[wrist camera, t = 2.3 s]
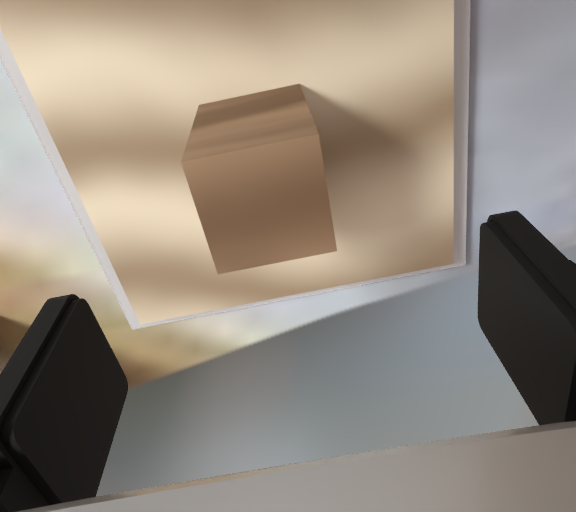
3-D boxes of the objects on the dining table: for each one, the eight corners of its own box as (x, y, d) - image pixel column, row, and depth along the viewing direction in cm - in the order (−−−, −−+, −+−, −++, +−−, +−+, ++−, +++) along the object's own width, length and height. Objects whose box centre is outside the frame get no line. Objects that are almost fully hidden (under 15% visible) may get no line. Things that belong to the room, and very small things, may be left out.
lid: (-18, -40, 17) (-163, -34, 11) (443, -145, 16) (557, -200, 10) (143, 312, 25) (111, 422, 19) (446, 253, 25) (508, 348, 19)
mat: (-52, -67, 17) (-62, -68, 16) (466, -188, 16) (473, -192, 15) (134, 322, 26) (131, 329, 26) (461, 259, 26) (465, 265, 25)
